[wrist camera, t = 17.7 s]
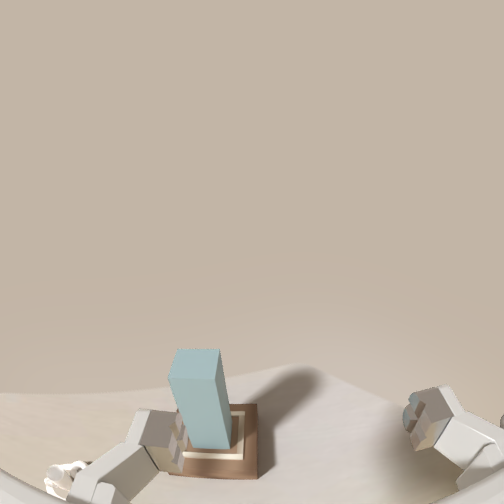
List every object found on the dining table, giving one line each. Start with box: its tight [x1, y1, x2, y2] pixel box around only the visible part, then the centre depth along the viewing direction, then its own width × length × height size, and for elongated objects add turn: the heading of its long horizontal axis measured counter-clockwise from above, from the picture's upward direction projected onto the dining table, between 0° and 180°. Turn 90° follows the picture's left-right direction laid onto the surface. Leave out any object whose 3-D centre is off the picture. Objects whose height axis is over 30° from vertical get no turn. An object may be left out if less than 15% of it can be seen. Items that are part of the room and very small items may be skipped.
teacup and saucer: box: [44, 461, 88, 501], centre depth 26 cm, size 9×8×4 cm
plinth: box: [168, 404, 258, 479], centre depth 36 cm, size 12×12×3 cm
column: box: [168, 349, 232, 449], centre depth 33 cm, size 5×5×14 cm
